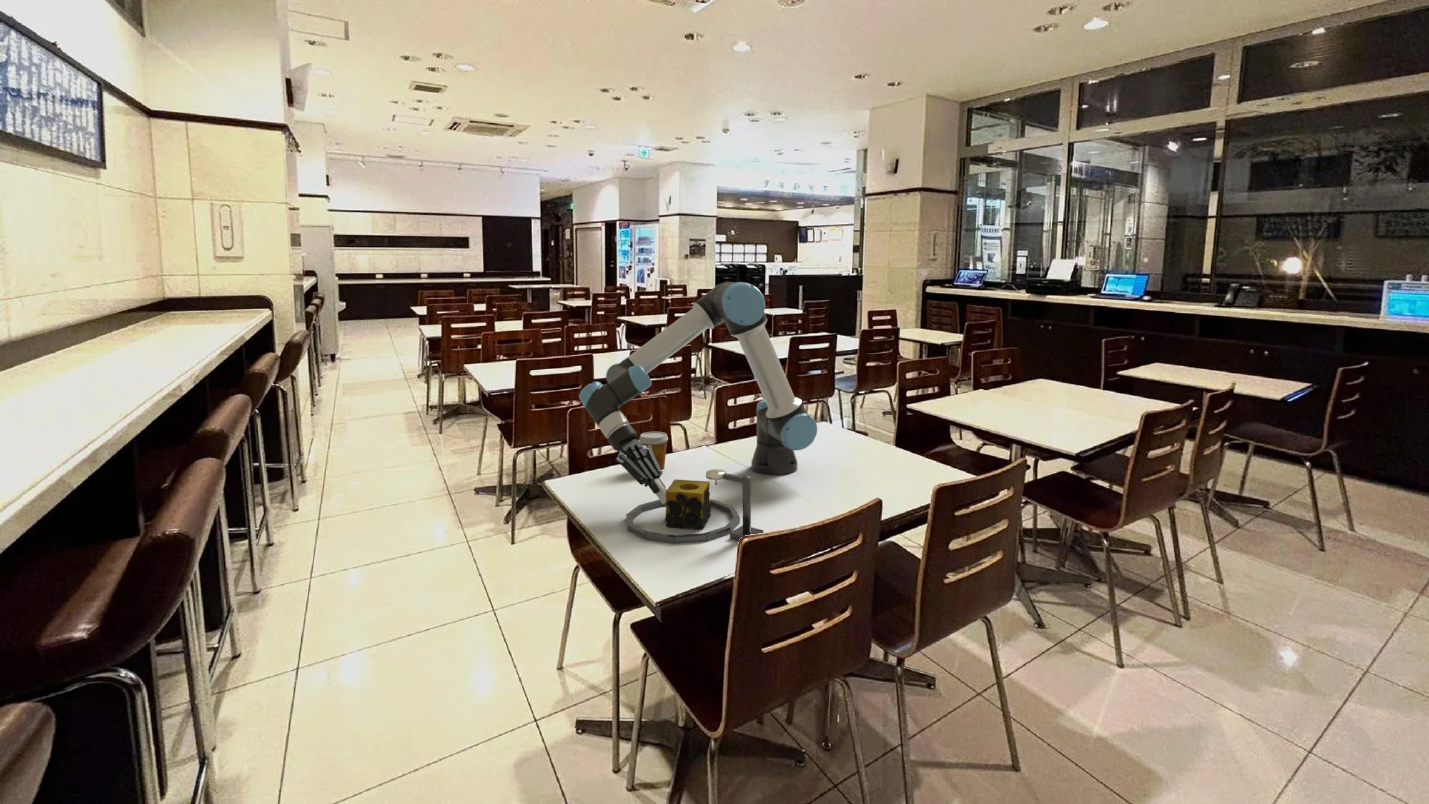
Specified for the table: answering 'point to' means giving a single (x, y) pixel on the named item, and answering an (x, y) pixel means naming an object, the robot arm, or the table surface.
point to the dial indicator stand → (746, 481)
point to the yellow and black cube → (687, 504)
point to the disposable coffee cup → (656, 445)
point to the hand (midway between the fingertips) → (667, 501)
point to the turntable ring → (681, 538)
